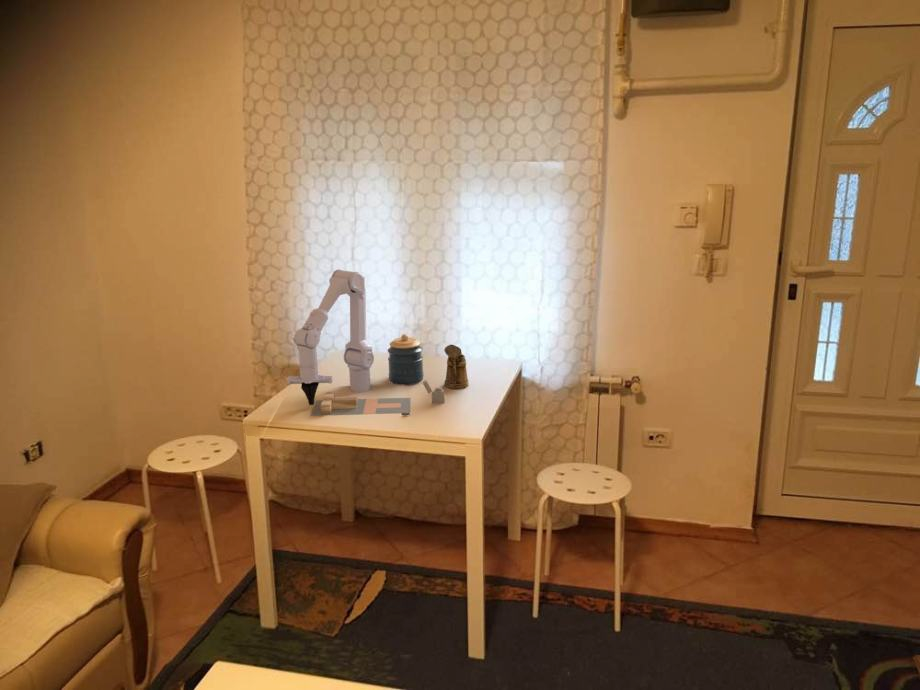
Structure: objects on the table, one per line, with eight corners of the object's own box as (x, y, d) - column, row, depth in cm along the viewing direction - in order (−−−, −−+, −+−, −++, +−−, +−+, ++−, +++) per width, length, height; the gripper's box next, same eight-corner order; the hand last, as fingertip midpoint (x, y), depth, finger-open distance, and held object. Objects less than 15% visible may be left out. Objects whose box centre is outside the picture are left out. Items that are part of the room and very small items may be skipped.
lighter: (444, 401, 236) (443, 379, 234) (444, 403, 235) (443, 381, 232) (423, 402, 236) (422, 380, 233) (423, 404, 234) (422, 381, 232)
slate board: (316, 403, 236) (316, 400, 236) (410, 400, 238) (410, 397, 237) (310, 418, 223) (309, 415, 223) (409, 415, 224) (409, 412, 224)
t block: (326, 401, 235) (325, 392, 234) (358, 400, 236) (358, 391, 235) (321, 414, 224) (320, 405, 223) (355, 413, 224) (354, 404, 223)
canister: (409, 387, 250) (407, 340, 245) (381, 381, 257) (379, 335, 252) (430, 377, 260) (429, 332, 255) (403, 372, 267) (401, 328, 262)
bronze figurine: (439, 393, 244) (438, 344, 239) (447, 380, 257) (446, 333, 252) (464, 394, 243) (463, 345, 238) (470, 381, 255) (470, 334, 250)
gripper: (283, 369, 221) (287, 408, 225) (329, 368, 222) (332, 407, 225) (288, 362, 228) (291, 401, 232) (332, 361, 228) (334, 399, 232)
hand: (311, 403), depth 229 cm, fingers closed
